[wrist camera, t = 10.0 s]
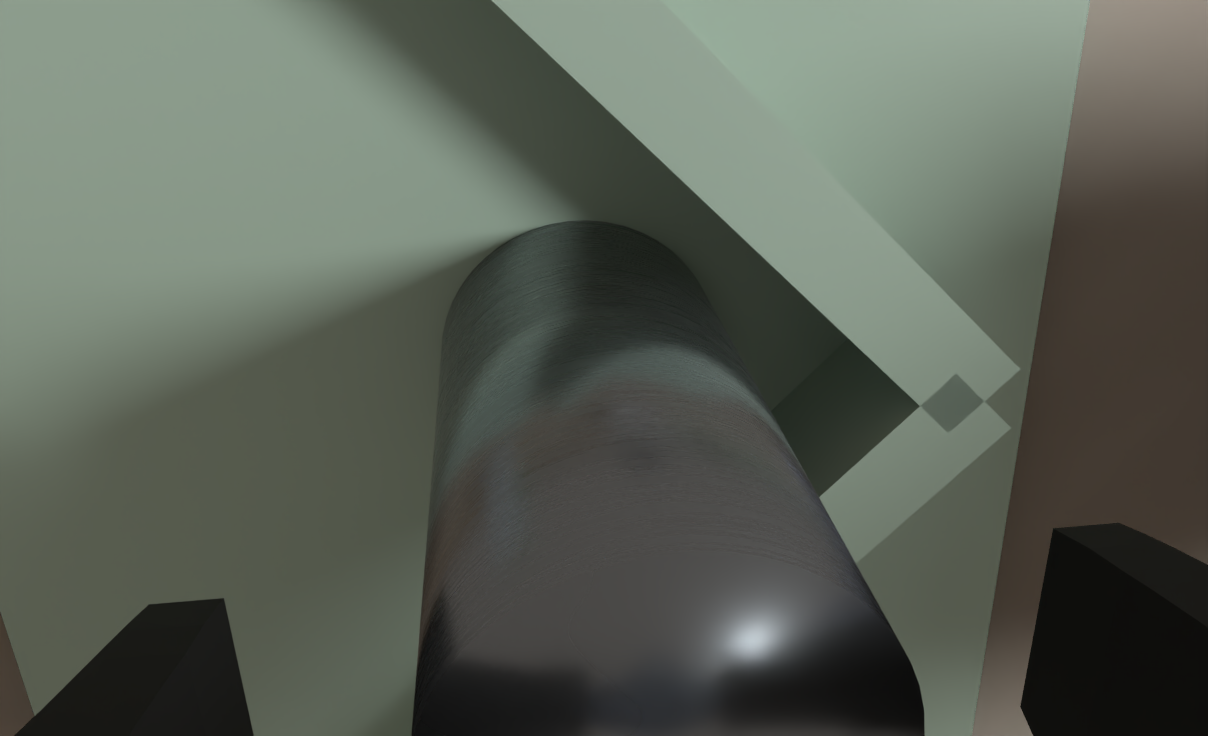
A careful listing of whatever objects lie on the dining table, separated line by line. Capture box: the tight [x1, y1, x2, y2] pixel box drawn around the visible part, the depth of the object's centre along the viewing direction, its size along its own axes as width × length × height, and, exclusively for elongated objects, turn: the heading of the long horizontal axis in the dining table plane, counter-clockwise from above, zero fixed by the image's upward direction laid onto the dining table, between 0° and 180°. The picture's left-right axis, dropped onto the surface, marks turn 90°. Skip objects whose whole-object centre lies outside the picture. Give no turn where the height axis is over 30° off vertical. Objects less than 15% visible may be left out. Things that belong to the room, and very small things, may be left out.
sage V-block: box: [0, 0, 1090, 736], centre depth 14 cm, size 16×19×3 cm
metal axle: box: [411, 220, 925, 736], centre depth 12 cm, size 4×4×8 cm
